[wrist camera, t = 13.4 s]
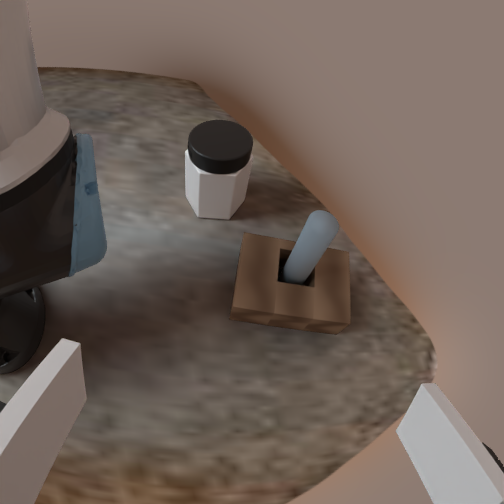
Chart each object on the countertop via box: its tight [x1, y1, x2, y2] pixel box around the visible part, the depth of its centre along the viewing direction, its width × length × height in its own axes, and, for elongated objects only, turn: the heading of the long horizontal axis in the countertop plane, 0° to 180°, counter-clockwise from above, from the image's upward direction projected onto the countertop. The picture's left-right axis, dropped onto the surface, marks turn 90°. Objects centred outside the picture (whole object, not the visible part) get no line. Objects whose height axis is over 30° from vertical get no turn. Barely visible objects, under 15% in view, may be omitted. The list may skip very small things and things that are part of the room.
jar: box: [185, 120, 253, 220], centre depth 43 cm, size 9×8×12 cm
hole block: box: [229, 232, 350, 334], centre depth 41 cm, size 14×10×4 cm
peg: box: [277, 210, 339, 285], centre depth 37 cm, size 3×3×14 cm
